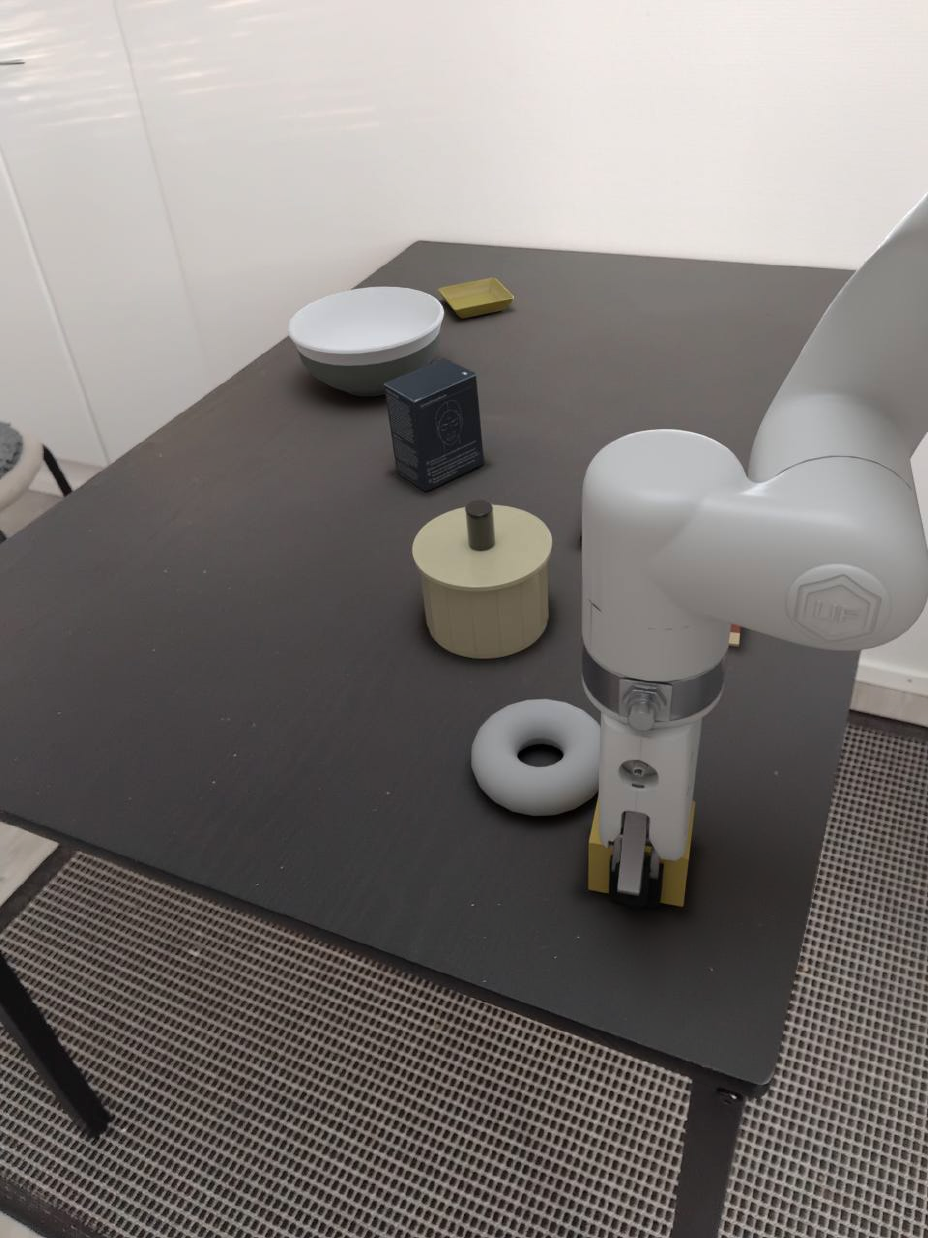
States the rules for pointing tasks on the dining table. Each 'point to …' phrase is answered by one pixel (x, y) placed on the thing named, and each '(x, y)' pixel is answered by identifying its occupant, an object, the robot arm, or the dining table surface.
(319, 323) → the bowl
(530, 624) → the pot
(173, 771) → the dining table surface
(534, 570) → the pot lid
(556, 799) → the donut
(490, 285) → the yellow tray
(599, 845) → the cheese
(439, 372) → the box
